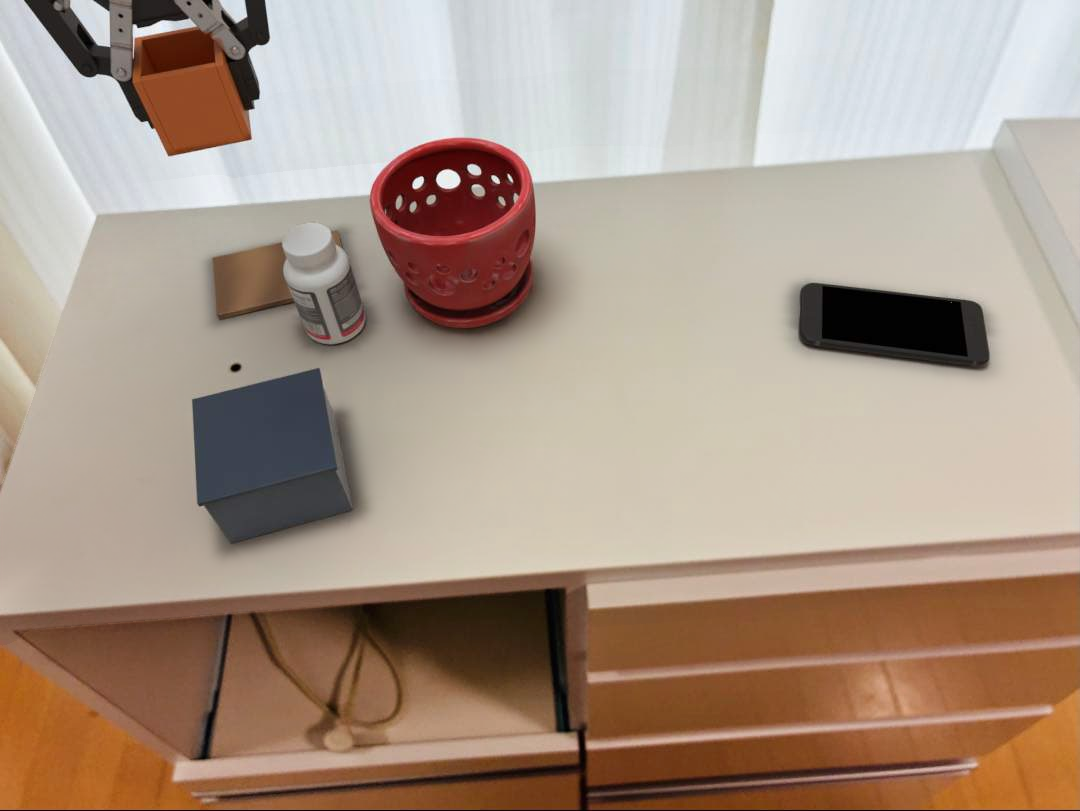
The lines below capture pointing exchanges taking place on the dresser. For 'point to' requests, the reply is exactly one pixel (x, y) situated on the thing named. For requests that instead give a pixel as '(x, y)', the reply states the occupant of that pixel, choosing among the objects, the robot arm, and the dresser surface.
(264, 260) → the cork mat
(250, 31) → the robot arm
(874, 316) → the smartphone
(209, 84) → the orange tub
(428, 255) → the flower pot
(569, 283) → the dresser surface
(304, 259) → the pill bottle
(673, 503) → the dresser surface
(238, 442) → the blue tin
